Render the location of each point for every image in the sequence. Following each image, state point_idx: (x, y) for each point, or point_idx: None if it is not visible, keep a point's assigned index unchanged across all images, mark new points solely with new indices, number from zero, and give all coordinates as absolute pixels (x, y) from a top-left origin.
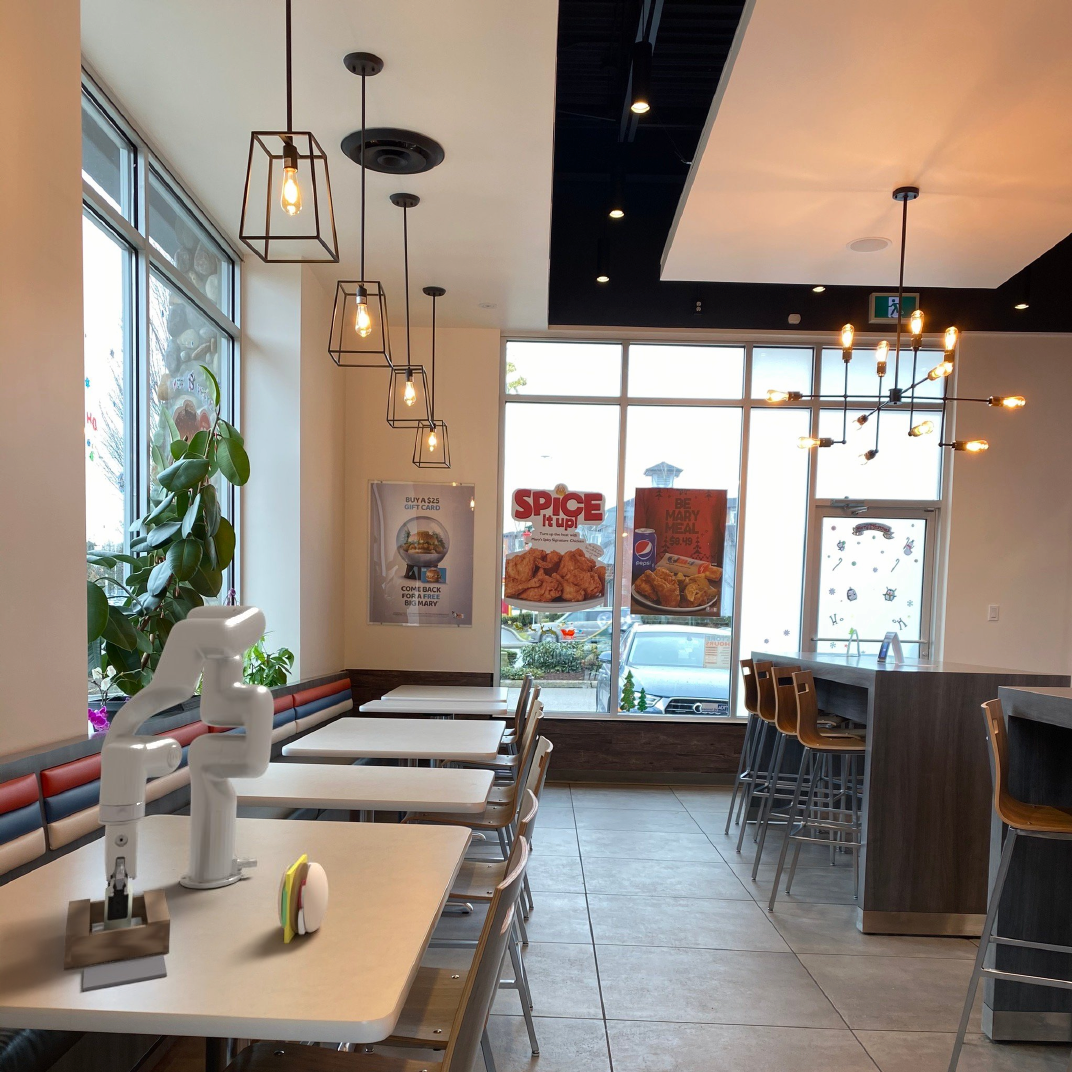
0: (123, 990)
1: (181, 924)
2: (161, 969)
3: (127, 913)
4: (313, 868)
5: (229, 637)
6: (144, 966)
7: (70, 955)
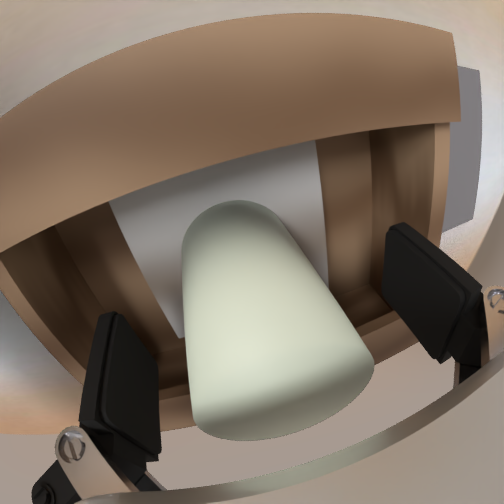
0: (489, 148)
1: (74, 38)
2: (467, 77)
3: (413, 229)
4: None
5: None
6: None
7: None
